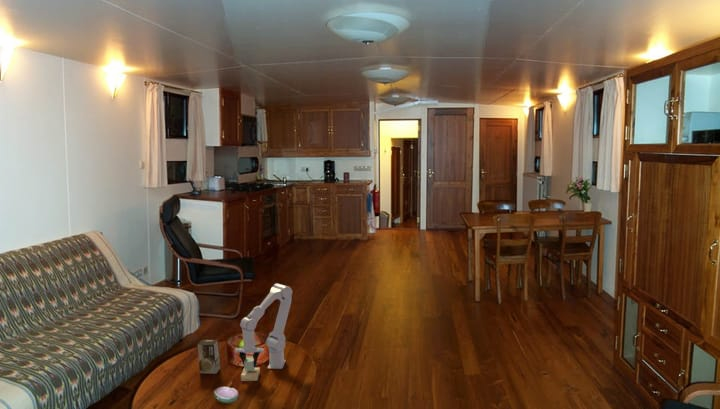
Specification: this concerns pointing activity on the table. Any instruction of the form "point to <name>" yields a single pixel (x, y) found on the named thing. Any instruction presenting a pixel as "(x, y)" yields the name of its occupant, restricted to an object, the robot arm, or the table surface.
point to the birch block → (250, 375)
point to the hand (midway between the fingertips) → (250, 366)
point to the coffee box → (209, 356)
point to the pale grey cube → (249, 364)
